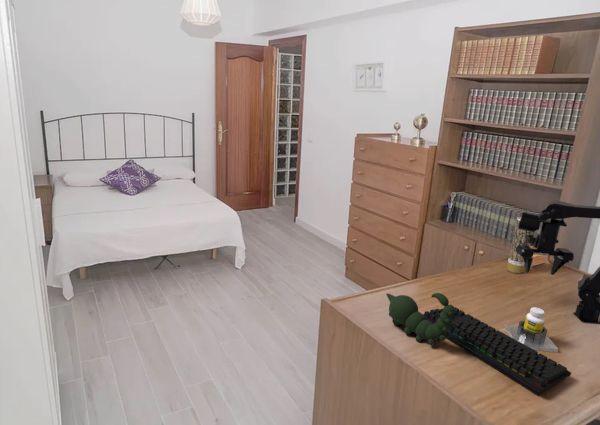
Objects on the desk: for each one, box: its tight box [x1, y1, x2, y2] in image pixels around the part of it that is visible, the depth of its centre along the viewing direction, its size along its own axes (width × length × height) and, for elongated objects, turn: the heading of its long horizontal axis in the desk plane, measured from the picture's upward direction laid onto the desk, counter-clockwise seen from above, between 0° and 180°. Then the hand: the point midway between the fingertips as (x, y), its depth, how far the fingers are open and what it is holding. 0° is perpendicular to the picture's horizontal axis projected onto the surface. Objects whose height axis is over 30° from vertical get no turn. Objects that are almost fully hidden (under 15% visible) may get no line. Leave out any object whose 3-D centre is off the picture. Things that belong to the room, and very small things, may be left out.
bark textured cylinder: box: [506, 216, 533, 275], centre depth 192 cm, size 7×7×25 cm
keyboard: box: [422, 304, 572, 397], centre depth 135 cm, size 42×16×5 cm, turn 33°
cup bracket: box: [504, 319, 559, 353], centre depth 141 cm, size 12×12×5 cm
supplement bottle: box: [524, 306, 546, 333], centre depth 140 cm, size 5×5×10 cm
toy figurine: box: [386, 292, 457, 346], centre depth 139 cm, size 9×19×25 cm
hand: (539, 273), depth 162 cm, fingers open, 9 cm apart
